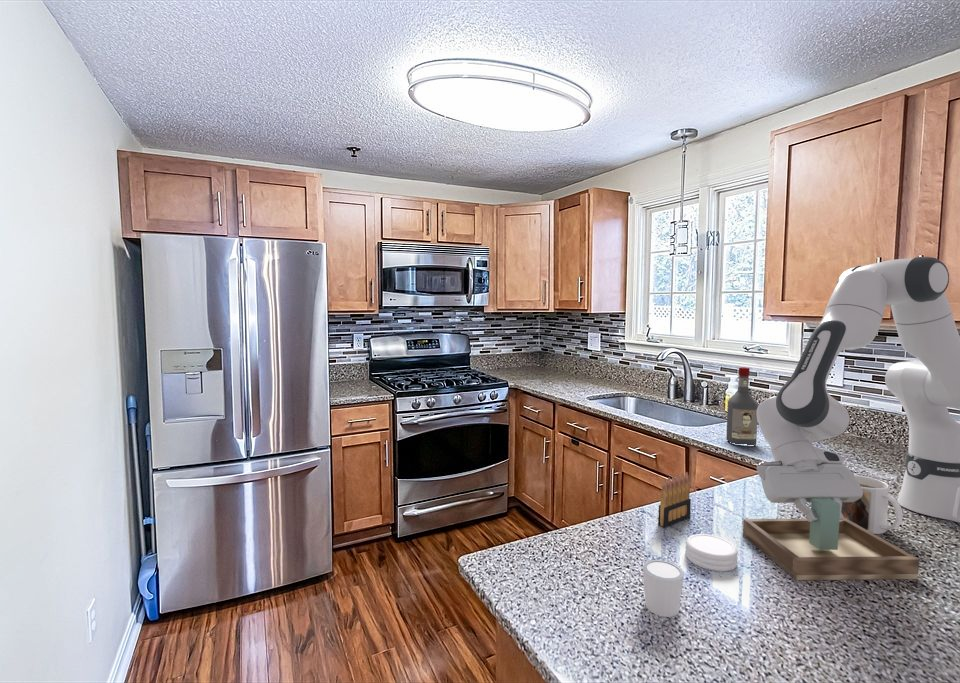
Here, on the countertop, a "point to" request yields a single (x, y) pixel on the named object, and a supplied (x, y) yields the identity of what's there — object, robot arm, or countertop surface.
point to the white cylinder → (662, 587)
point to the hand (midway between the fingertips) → (827, 521)
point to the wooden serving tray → (829, 552)
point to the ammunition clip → (674, 501)
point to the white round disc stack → (711, 552)
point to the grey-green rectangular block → (825, 524)
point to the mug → (872, 506)
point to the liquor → (742, 413)
